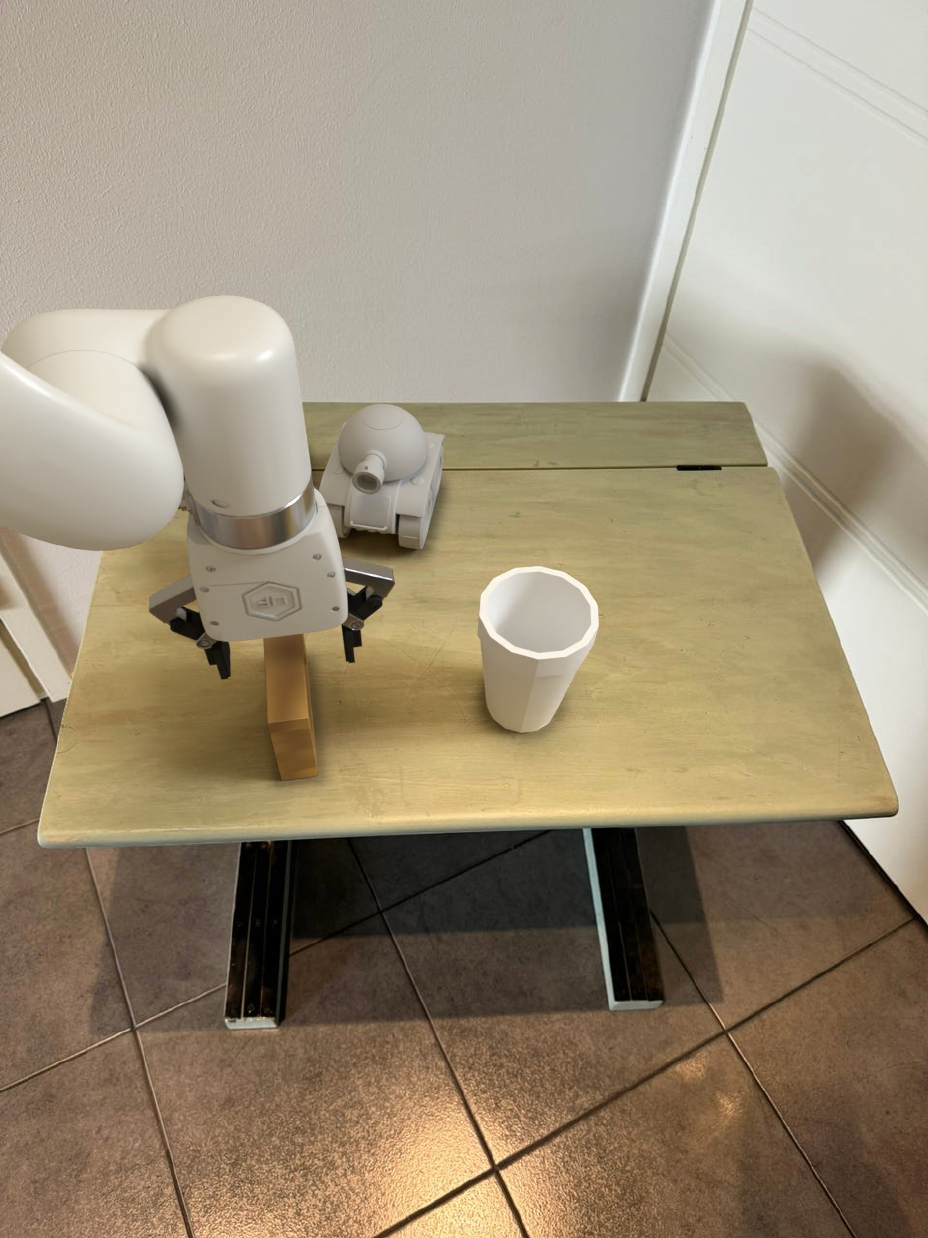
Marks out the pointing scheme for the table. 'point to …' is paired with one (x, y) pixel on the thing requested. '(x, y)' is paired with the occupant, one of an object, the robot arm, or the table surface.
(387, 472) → the toy tank
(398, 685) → the table surface
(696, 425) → the table surface
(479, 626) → the foam cup
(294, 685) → the frame
